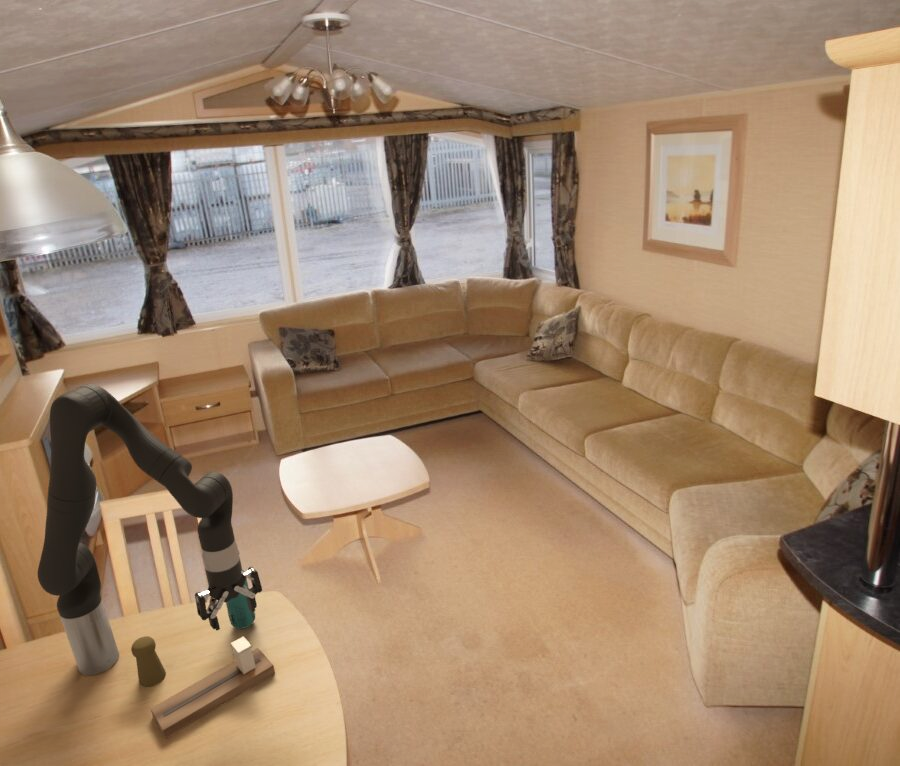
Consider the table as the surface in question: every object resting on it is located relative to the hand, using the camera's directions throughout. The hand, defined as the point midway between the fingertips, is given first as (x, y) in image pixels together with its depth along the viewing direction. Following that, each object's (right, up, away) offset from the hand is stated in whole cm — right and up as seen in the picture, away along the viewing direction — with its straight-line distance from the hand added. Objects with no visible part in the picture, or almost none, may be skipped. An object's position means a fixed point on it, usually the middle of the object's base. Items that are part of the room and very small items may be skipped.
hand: (234, 619), depth 156 cm
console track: (-5, -18, +2) cm, 19 cm away
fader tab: (+1, -13, +5) cm, 14 cm away
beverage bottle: (-5, -10, +23) cm, 25 cm away
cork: (-22, -17, +8) cm, 29 cm away
